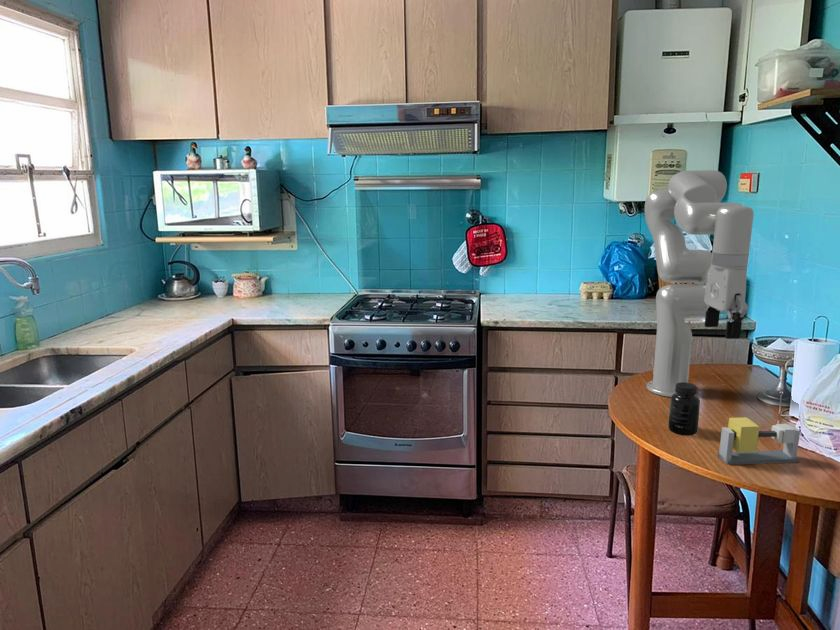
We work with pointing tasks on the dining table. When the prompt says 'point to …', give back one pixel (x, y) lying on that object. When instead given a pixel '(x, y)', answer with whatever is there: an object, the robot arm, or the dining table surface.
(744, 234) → the robot arm
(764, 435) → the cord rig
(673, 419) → the supplement bottle
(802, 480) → the dining table surface
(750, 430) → the olive yellow cube
